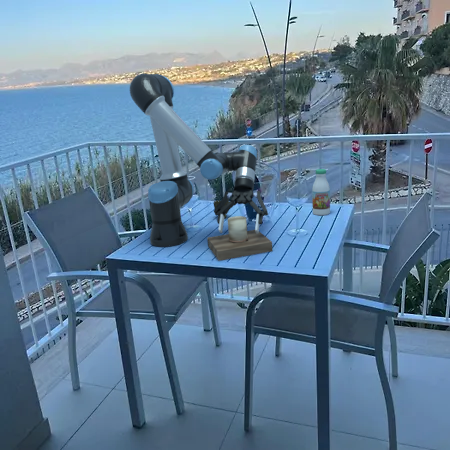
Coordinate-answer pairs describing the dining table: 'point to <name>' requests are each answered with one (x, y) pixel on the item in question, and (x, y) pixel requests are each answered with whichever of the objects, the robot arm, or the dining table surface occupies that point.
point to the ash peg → (237, 229)
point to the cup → (217, 204)
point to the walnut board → (239, 246)
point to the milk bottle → (321, 194)
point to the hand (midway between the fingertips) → (238, 231)
